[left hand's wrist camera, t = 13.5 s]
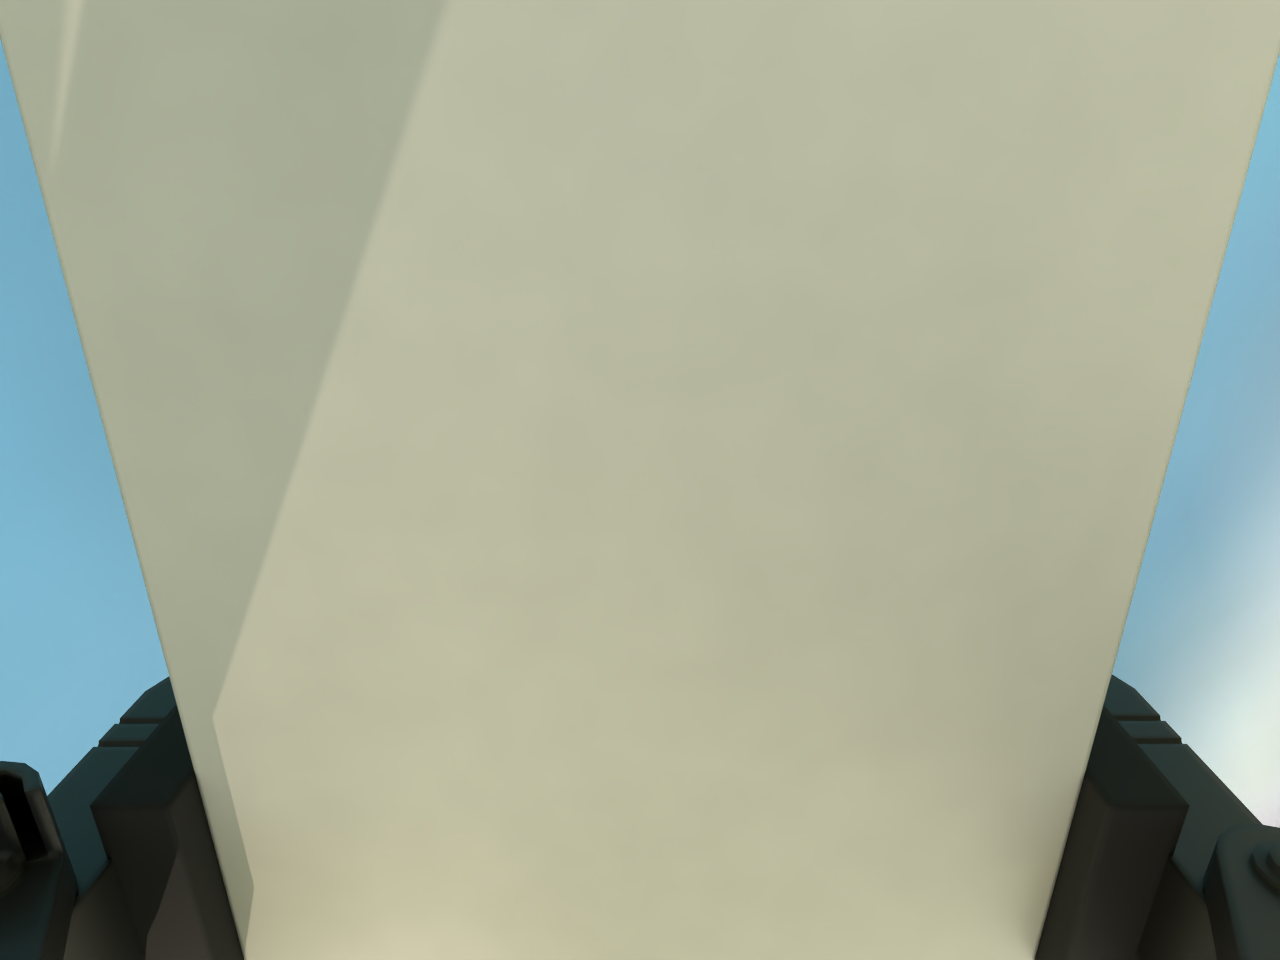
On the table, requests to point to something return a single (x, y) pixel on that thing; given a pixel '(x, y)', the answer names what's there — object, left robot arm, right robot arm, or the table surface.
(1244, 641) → the table surface
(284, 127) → the beige rectangular bar
